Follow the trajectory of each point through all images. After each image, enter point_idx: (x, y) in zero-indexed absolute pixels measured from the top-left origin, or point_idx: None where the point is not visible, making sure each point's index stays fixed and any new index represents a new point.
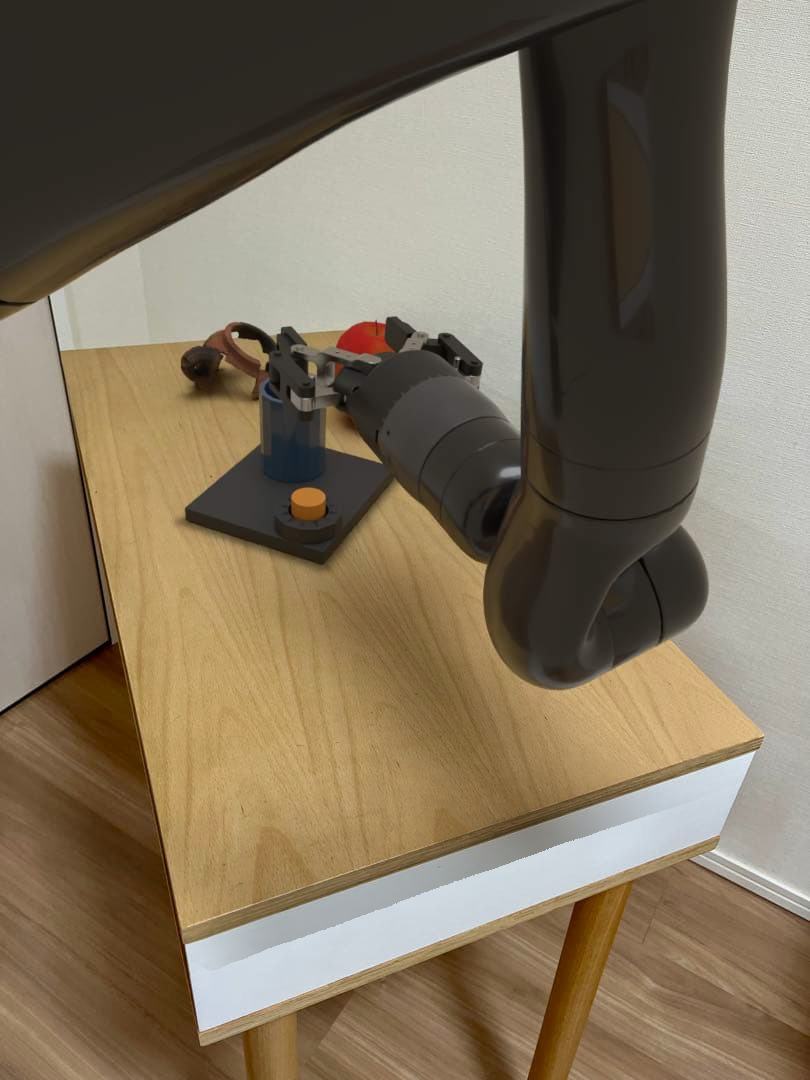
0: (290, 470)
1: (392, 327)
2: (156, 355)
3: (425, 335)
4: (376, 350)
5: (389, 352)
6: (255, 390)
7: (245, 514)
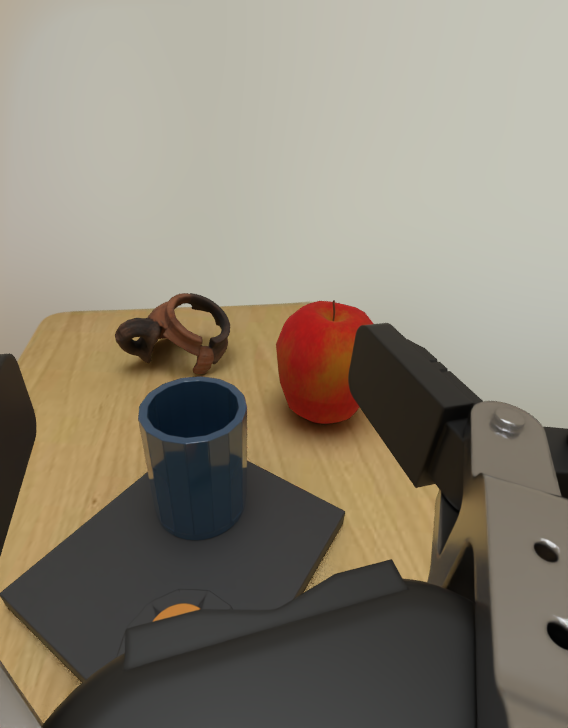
0: (184, 525)
1: (377, 360)
2: (123, 320)
3: (529, 427)
4: (331, 341)
5: (381, 578)
6: (196, 368)
7: (86, 622)
